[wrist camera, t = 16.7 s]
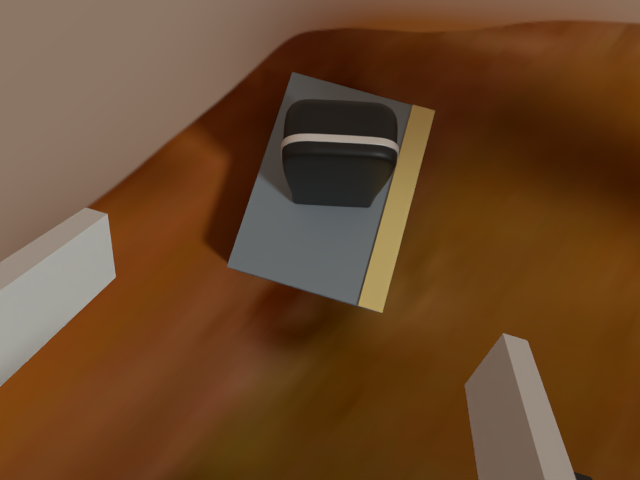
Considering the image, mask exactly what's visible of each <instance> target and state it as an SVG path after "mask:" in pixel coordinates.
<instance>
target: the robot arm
mask: <svg viewBox="0 0 640 480" xmlns="http://www.w3.org/2000/svg"><path fill="white" fill-rule="evenodd" d="M115 277H116V275H115V268H114V260H113V252H112V245H111V237H110V229H109V222H108V214H106V213H102V212H99V211H96V210H92V209H89V208H86V207H85V208H84V209H82V210H81V211H79V212H78V213H76V214H75V215H73V216H71V217H70V218H68V219H67V220H65V221H64V222H63V223H61V224H59V225H58V226H56V227H54V228H53V229H51V230H50V231H48V232H47V233H45V234H44V235H42V236H40V237H39V238H37V239H36V240H34V241H33V242H31V243H30V244H28V245H27V246H25V247H23V248H22V249H20V250H19V251H17V252H16V253H14V254H12V255H11V256H9V257H8V258H6V259H5V260H3V261H2V262H0V386H1V385H2V384H4V383H5V382H6V381H7V380H8V379H9V378H10V377H11V376H12V375H13V374H14V373H15V372H16V371H17V370H18V369H19V368H20V367H21V366H22V365H24V364H25V363H26V362H27V361H28V360H29V359H30V358H31V357H32V356H33V355H34V354H35V353H36V352H37V351H38V350H39V349H40V348H41V347H43V346H44V345H45V344H46V343H47V342H48V341H49V340H50V339H51V338H52V337H53V336H54V335H55V334H56V333H57V332H58V331H59V330H60V329H62V328H63V327H64V326H65V325H66V324H67V323H68V322H69V321H70V320H71V319H72V318H73V317H74V316H75V315H76V314H77V313H78V312H79V311H80V310H82V309H83V308H84V307H85V306H86V305H87V304H88V303H89V302H90V301H91V300H92V299H93V298H94V297H95V296H96V295H97V294H98V293H99V292H101V291H102V290H103V289H104V288H105V287H106V286H107V285H108V284H109V283H110V282H111V281H112V280H113V279H114V278H115ZM465 390H466V397H467V403H468V410H469V417H470V424H471V431H472V437H473V444H474V451H475V458H476V464H477V471H478V478H479V480H592V478H591V477H588V476H585V475H582V474H579V473H576V472H573V469H572V467H571V464H570V461H569V458H568V455H567V452H566V449H565V447H564V444H563V441H562V438H561V435H560V432H559V429H558V427H557V424H556V421H555V418H554V415H553V412H552V409H551V407H550V404H549V401H548V398H547V395H546V392H545V390H544V387H543V384H542V381H541V378H540V375H539V372H538V370H537V367H536V364H535V361H534V358H533V355H532V352H531V350H530V347H529V344H528V341H527V340H524V339H521V338H517V337H514V336H511V335H507V334H504V333H503V334H502V335H501V337H500V338H499V339H498V341H497V342H496V343H495V345H494V346H493V347H492V349H491V350H490V352H489V353H488V354H487V356H486V357H485V358H484V360H483V361H482V362H481V364H480V365H479V366H478V368H477V369H476V370H475V372H474V373H473V374H472V376H471V377H470V378H469V380H468V381H467V382H466V384H465Z"/></svg>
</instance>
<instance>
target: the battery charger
mask: <svg viewBox="0 0 640 480" xmlns="http://www.w3.org/2000/svg"><path fill="white" fill-rule="evenodd" d="M397 137H398V124H397V118H396V116H395V114H394V112H393V110H392V109H391V108H389V107H388V106H387V105H385V104H381V103H374V102H360V101H345V100H322V99H304V100H299V101H297V102H295V103H294V104H292V105H291V106H290V108H289V109H288V111H287V112H286V117H285V122H284V133H283V141H282V143H281V159H282V164H283V170H284V174H285V178H286V180H287V183H288V186H289V188H290V190H291V196H292V201H293V203H295V204H302V205H319V206H338V207H360V208H369V207H371V205H372V203H373V201H374V199H375V197H376V196H377V195H378V194H379V192H380V191H381V190H382V188H383V187H384V186H385V184H386V183H387V181H388V180H389V178H390V177H391V175H392V173H393V171H394V169H395V167H396V163H397V160H398V157H399V147H398V145H397Z"/></svg>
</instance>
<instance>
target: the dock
mask: <svg viewBox="0 0 640 480" xmlns="http://www.w3.org/2000/svg"><path fill="white" fill-rule="evenodd" d="M304 99H322V100H345V101H360V102H374V103H381V104H385V105H387V106H388V107H389V108H391V109H392V110H393V112H394V114H395V116H396V118H397V124H398V137H397V145H398V147H399V157H398V160H397V163H396V167H395V169H394V171H393V173H392V175H391V177H390V178H389V180H388V181H387V183H386V184H385V186H384V187H383V188H382V190H381V191H380V192H379V194H378V195H377V196H376V197H375V199H374V201H373V203H372V205H371V207H369V208H360V207H338V206H319V205H302V204H295V203H293V201H292V196H291V190H290V188H289V186H288V183H287V180H286V178H285V174H284V170H283V164H282V159H281V143H282V141H283V133H284V122H285V117H286V112H287V111H288V109H289V108H290V106H291V105H292V104H294V103H295V102H297V101H299V100H304ZM434 113H435V110H431V109H427V108H424V107H420V106H417V105H409V104H406V103H402V102H399V101H395V100H391V99H388V98H384V97H381V96H377V95H373V94H370V93H366V92H363V91H359V90H356V89H352V88H348V87H345V86H341V85H338V84H334V83H330V82H327V81H323V80H320V79H316V78H312V77H309V76H305V75H302V74H298V73H294V72H292V74H291V77H290V80H289V83H288V86H287V89H286V92H285V95H284V98H283V101H282V104H281V107H280V110H279V113H278V116H277V119H276V122H275V125H274V128H273V131H272V134H271V137H270V140H269V143H268V146H267V149H266V152H265V155H264V158H263V161H262V164H261V167H260V170H259V173H258V175H257V178H256V181H255V184H254V187H253V190H252V193H251V196H250V199H249V202H248V205H247V208H246V211H245V214H244V217H243V220H242V223H241V226H240V229H239V232H238V235H237V238H236V241H235V244H234V247H233V250H232V253H231V256H230V259H229V262H228V265H227V267H229V268H232V269H234V270H237V271H240V272H243V273H247V274H250V275H253V276H257V277H260V278H263V279H267V280H270V281H274V282H277V283H280V284H284V285H287V286H290V287H294V288H297V289H300V290H304V291H307V292H311V293H314V294H317V295H321V296H324V297H327V298H331V299H334V300H337V301H341V302H344V303H347V304H351V305H354V306H358V307H361V308H364V309H368V310H371V311H375V312H380V313H382V312H383V308H384V304H385V301H386V297H387V293H388V289H389V285H390V282H391V278H392V274H393V270H394V266H395V262H396V259H397V255H398V251H399V247H400V243H401V240H402V236H403V232H404V228H405V224H406V220H407V217H408V213H409V209H410V205H411V201H412V197H413V194H414V190H415V186H416V182H417V178H418V175H419V171H420V167H421V163H422V159H423V155H424V152H425V148H426V144H427V140H428V136H429V133H430V129H431V125H432V121H433V117H434Z"/></svg>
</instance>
